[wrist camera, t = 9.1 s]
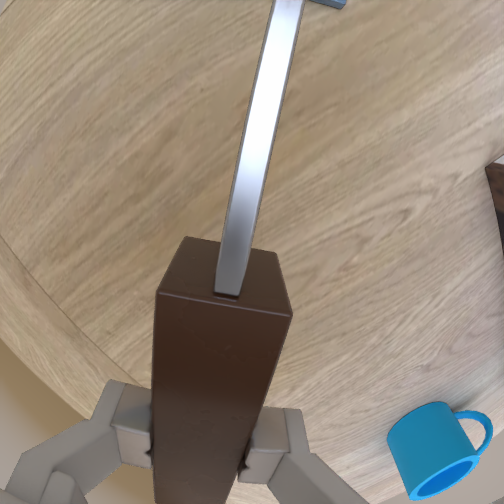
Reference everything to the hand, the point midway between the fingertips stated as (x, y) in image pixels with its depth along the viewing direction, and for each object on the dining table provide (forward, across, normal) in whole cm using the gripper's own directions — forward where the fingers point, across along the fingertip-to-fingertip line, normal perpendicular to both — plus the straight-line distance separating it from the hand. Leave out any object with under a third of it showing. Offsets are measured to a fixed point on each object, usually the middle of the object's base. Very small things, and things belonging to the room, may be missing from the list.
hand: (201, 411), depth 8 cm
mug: (+13, -26, +16) cm, 33 cm away
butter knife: (+2, 0, -6) cm, 6 cm away
